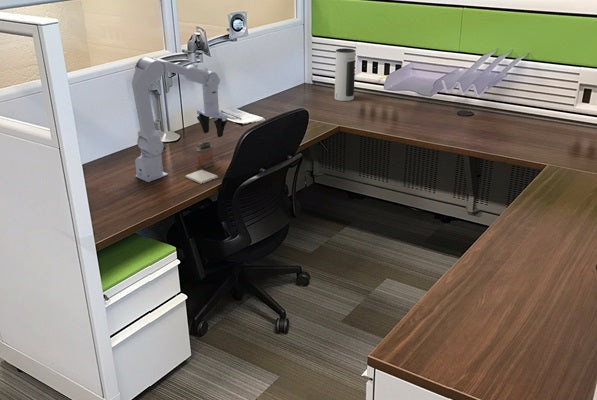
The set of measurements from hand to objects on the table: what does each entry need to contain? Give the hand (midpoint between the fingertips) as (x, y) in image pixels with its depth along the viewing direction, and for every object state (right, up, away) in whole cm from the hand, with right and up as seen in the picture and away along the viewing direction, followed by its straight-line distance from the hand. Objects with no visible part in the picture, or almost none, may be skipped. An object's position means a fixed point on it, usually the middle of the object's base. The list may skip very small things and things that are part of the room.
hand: (213, 134), depth 249 cm
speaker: (+58, +28, +83) cm, 105 cm away
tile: (-3, -18, -13) cm, 22 cm away
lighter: (-3, -13, -2) cm, 13 cm away
